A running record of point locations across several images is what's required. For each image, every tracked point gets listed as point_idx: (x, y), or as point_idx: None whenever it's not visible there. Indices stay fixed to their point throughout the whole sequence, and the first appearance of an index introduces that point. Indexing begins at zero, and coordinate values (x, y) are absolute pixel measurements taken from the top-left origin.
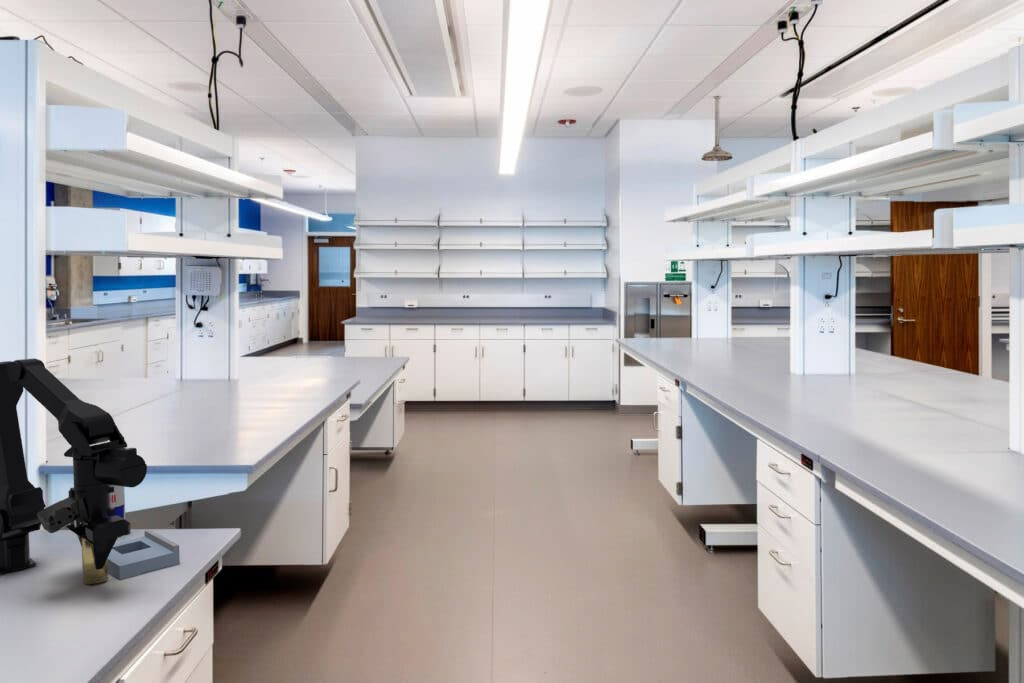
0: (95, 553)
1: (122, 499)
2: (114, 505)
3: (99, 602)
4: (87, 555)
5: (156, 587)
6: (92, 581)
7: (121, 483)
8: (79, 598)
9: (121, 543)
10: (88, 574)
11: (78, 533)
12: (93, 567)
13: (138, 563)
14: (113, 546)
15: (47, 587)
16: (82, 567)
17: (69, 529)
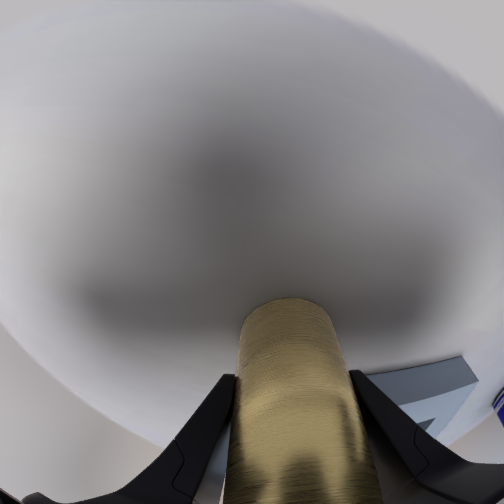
0: (169, 445)
1: None
2: None
3: (73, 269)
4: (257, 419)
5: (116, 395)
6: (247, 323)
7: None
8: (145, 232)
9: (432, 432)
10: (256, 335)
11: (432, 499)
12: (240, 374)
13: None
14: (435, 421)
15: (391, 178)
16: (311, 344)
17: (498, 494)
